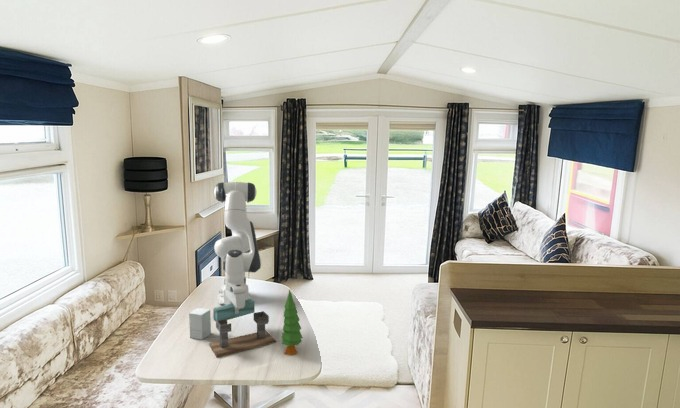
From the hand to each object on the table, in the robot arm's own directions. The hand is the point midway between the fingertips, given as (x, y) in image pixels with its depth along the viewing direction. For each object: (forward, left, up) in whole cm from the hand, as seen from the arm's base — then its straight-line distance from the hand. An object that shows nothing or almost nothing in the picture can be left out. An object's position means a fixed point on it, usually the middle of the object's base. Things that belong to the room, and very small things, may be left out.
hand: (234, 310), depth 203 cm
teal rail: (0, 0, -3) cm, 3 cm away
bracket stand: (+12, 0, -13) cm, 17 cm away
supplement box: (-7, -15, -13) cm, 21 cm away
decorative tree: (+30, +17, -13) cm, 36 cm away
